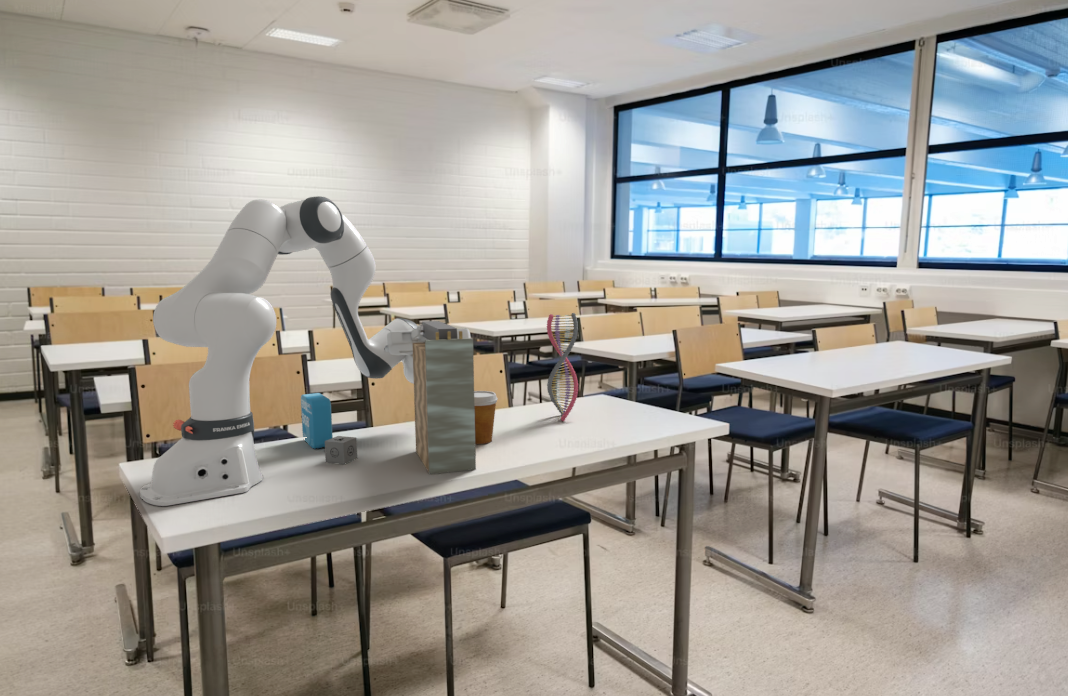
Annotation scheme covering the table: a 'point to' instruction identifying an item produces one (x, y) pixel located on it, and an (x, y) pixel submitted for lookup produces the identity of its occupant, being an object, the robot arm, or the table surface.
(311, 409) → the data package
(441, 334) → the grey rectangular bar
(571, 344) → the dna model
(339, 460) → the dice cube
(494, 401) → the disposable coffee cup
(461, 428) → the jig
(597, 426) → the table surface
